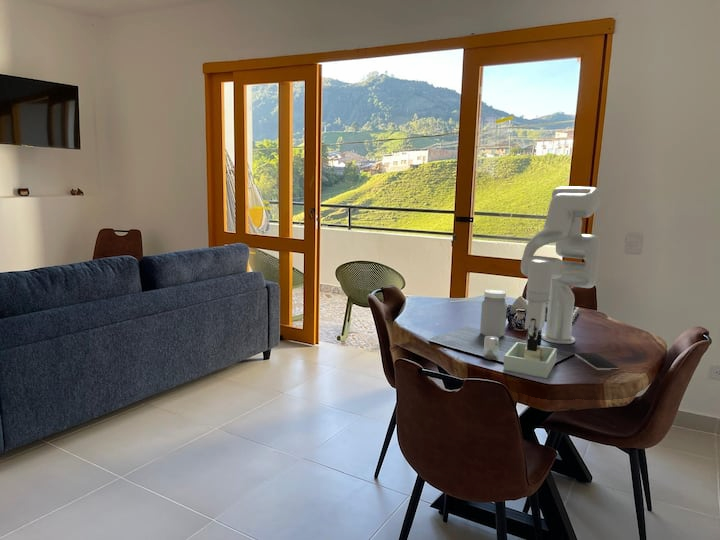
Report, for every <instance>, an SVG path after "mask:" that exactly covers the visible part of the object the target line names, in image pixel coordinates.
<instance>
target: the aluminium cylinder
mask: <svg viewBox="0 0 720 540" xmlns="http://www.w3.org/2000/svg"><path fill="white" fill-rule="evenodd" d="M483 340H484V343H483V344H484V345H483V353H482V354H483V358H484V359H487V360H497V359H498V358H499V349H500V347H499V346H500V337H499V338H498V337H495V336H484V339H483Z"/></svg>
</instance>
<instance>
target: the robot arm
mask: <svg viewBox="0 0 720 540" xmlns="http://www.w3.org/2000/svg"><path fill="white" fill-rule="evenodd" d="M601 203H602V194H601V190H600V188H597V187H595V186H571V185H570V186H568V185H567V186H566V185H565V186H559V187H555V188H554V189H553V190H552V192H551V200H550V203H549V207H548V210H547V215H546V218H545V222H544V226H543V229H542V230H540V231H538V232H537V233H536V234H535V235H533V237H531V239H530V240H529V241H528V242H527V243H526V245H525V247H524V250H523V254H522V257H521V262H520V271H521V273H522V275H524V276H526V277H527V284H526V297H525V300H526V301H528V302H527V303H528V306H527V313H526V318H525V321H524V322H525V323H524V329H525V331H527V330H528V335H527V343H526V344H527V350H531V351H537V346H542V340H543V341H546V342H549V343H553V344H558V345H568V344H569V345H570V344H573V343H575V342H576V338H575V337H574V336H573V335H572V330H573V323H572V320H573V310H574V307H575V294H574V292H573V290H572V289H571V288H570V287H574V288H582V289H583V288H585V289H591V288H593V287H594V286H595V285H596V282H597V278H598V271H599V263H600V258H601V257H600V256H601V240H600V238H599V237H598V236H597V235H595V234H589V233H588V234H587V233H582V227H583V219H582V218H585V219H586V218H591V216H593V214H594V213H595V212H596V211H597V210H598V208H599V207H600V204H601ZM553 243H555V253H556V254H557V255H558V256H559V257H563V258H571V259H580V260H584V261H585V262H579V261H571V260H562V259H560V258H557V257H551V256H549V257H548V256H543V255H535V254H536V252H537V250H539V249H540V248H542V247H544V246H546V245H549V244H553ZM546 303H548V311H547V321H545V312H546ZM544 326H545V332H542V329H543V327H544Z"/></svg>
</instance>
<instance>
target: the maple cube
mask: <svg viewBox="0 0 720 540" xmlns="http://www.w3.org/2000/svg"><path fill="white" fill-rule="evenodd" d="M542 352H543V347H539V346H537V351H531V350H527V346H526V347H525V349H524V358H525V359H531V360H537V361H542Z"/></svg>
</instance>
